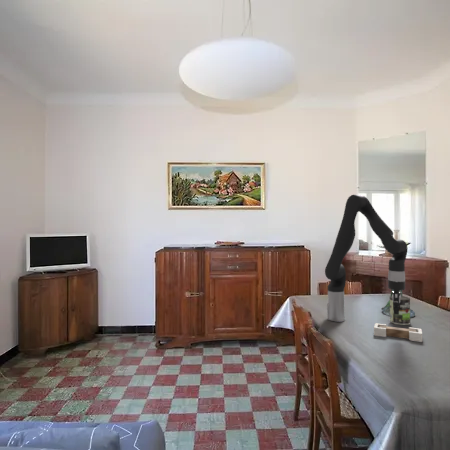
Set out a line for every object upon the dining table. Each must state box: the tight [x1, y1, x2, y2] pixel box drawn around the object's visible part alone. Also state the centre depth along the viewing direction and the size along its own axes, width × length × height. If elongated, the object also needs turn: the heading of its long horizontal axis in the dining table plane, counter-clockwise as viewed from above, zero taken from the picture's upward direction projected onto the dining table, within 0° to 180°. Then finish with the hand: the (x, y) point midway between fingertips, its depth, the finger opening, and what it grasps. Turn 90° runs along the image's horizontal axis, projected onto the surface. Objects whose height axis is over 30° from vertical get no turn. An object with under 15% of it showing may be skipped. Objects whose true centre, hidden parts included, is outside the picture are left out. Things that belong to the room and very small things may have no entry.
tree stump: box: [381, 289, 416, 319], centre depth 199 cm, size 18×20×18 cm
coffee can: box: [389, 295, 411, 326], centre depth 180 cm, size 10×10×14 cm
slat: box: [380, 326, 416, 340], centre depth 159 cm, size 16×4×4 cm, turn 61°
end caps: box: [373, 322, 423, 343], centre depth 159 cm, size 21×8×4 cm, turn 61°
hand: (396, 311), depth 159 cm, fingers open, 8 cm apart
